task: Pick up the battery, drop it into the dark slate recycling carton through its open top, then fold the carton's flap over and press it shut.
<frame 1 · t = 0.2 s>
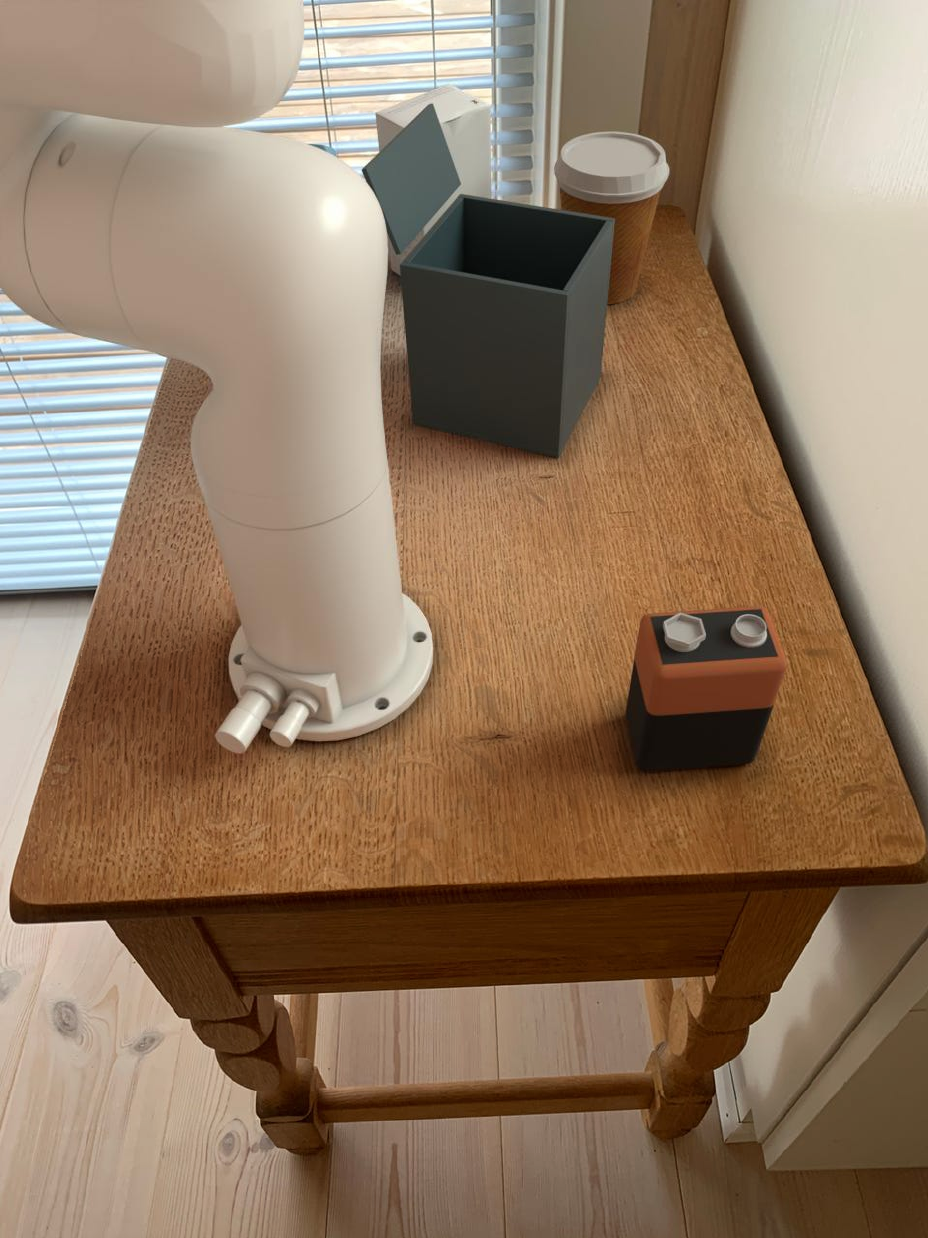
flap: (414, 177, 68), point 17 cm above the table, hinge at 110.0°
cosmetic box: (441, 271, 93), on the table
disposable coffee cup: (601, 288, 90), on the table
battery: (687, 741, 57), on the table
carton: (508, 400, 79), on the table
chair: (318, 285, 92), on the table
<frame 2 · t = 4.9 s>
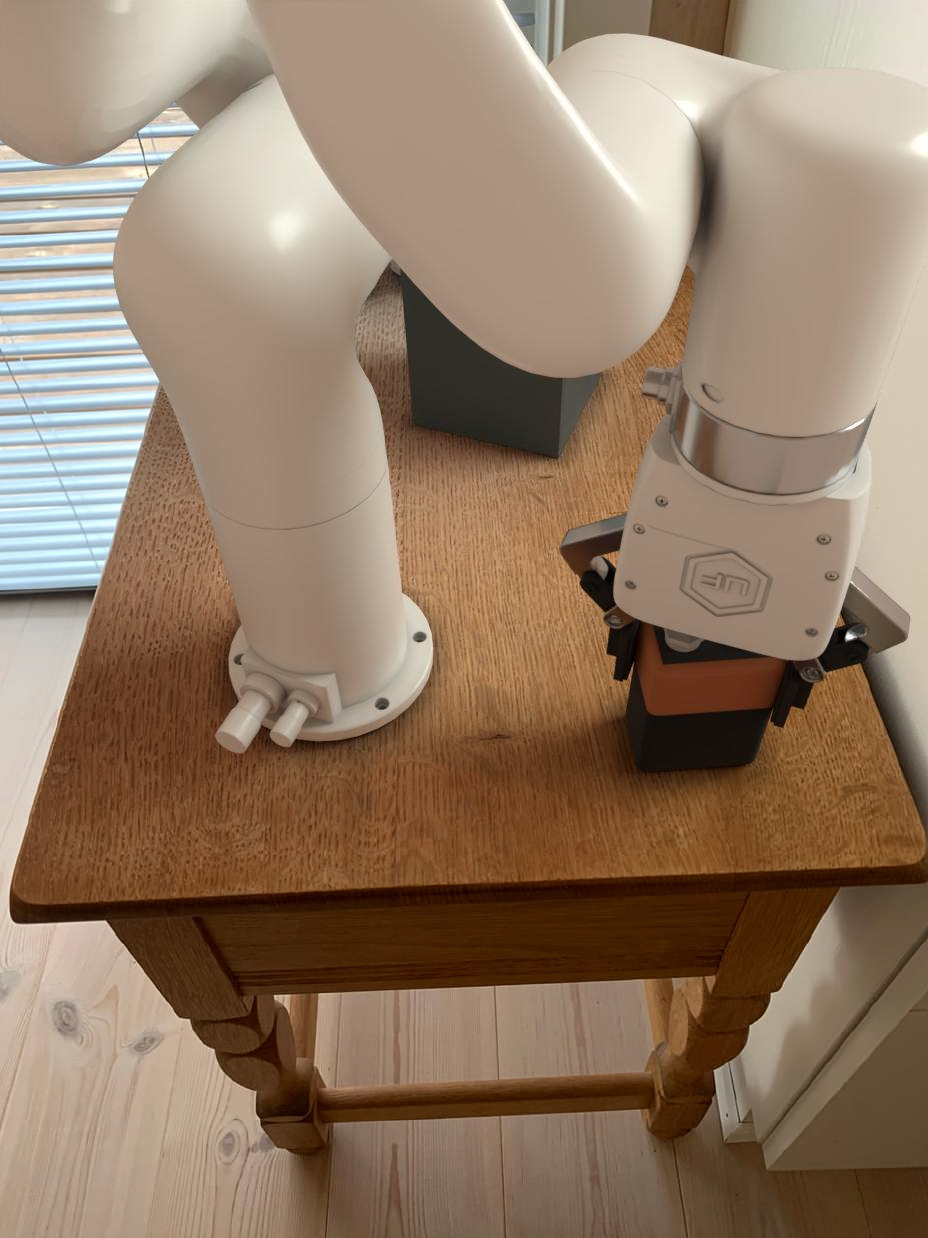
hand: (702, 682, 53), 5 cm above the table, tool pointing down, fingers closed on battery, 7 cm apart
battery: (687, 741, 57), on the table, touching gripper
everything else where it was.
when the fingers open (16 cm above the table, at t = 11.8 s): battery drops 10 cm, resting on carton.
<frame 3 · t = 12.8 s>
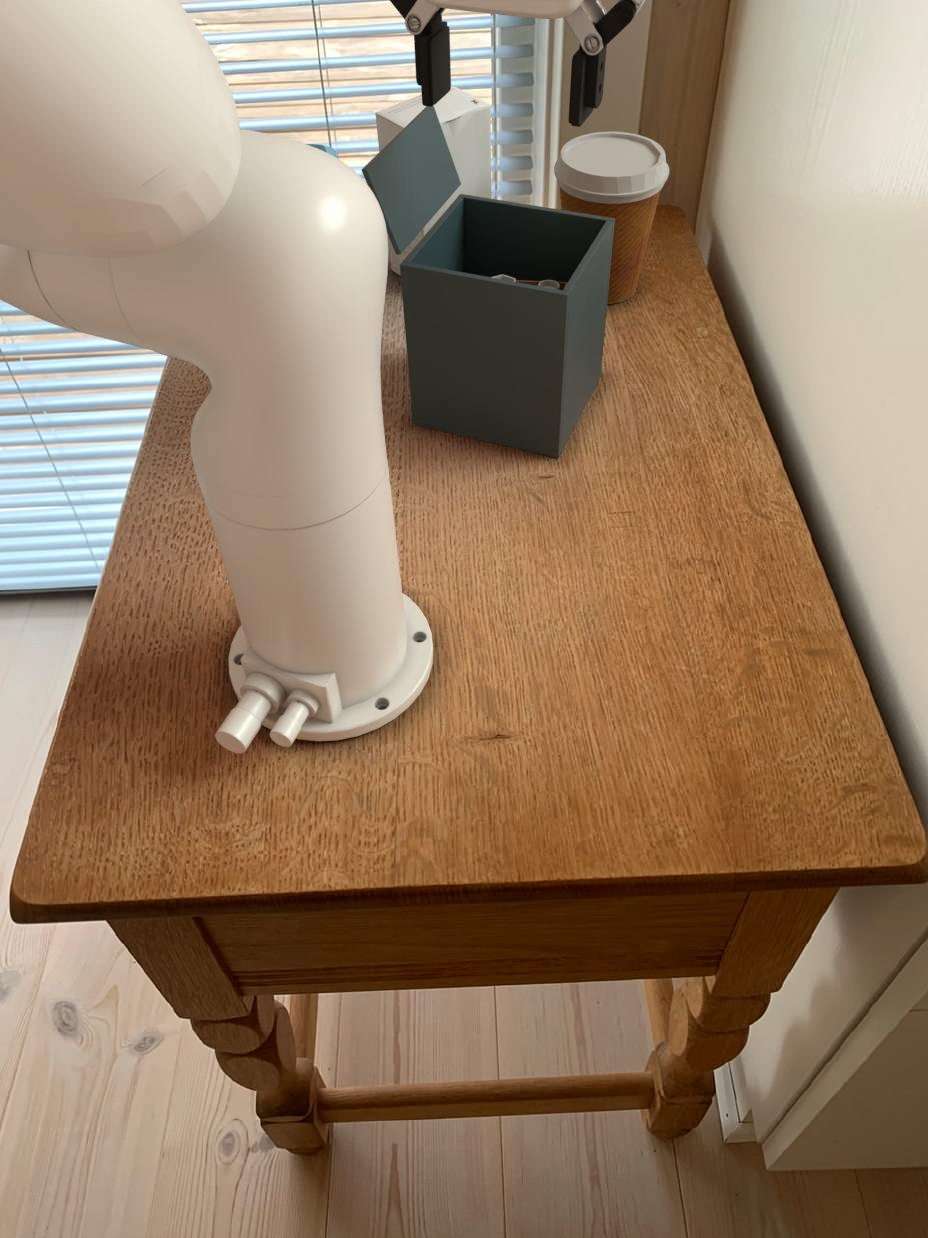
hand: (507, 108, 62), 22 cm above the table, tool pointing down, fingers open, 9 cm apart
battery: (521, 400, 78), resting on carton
everything else where it was.
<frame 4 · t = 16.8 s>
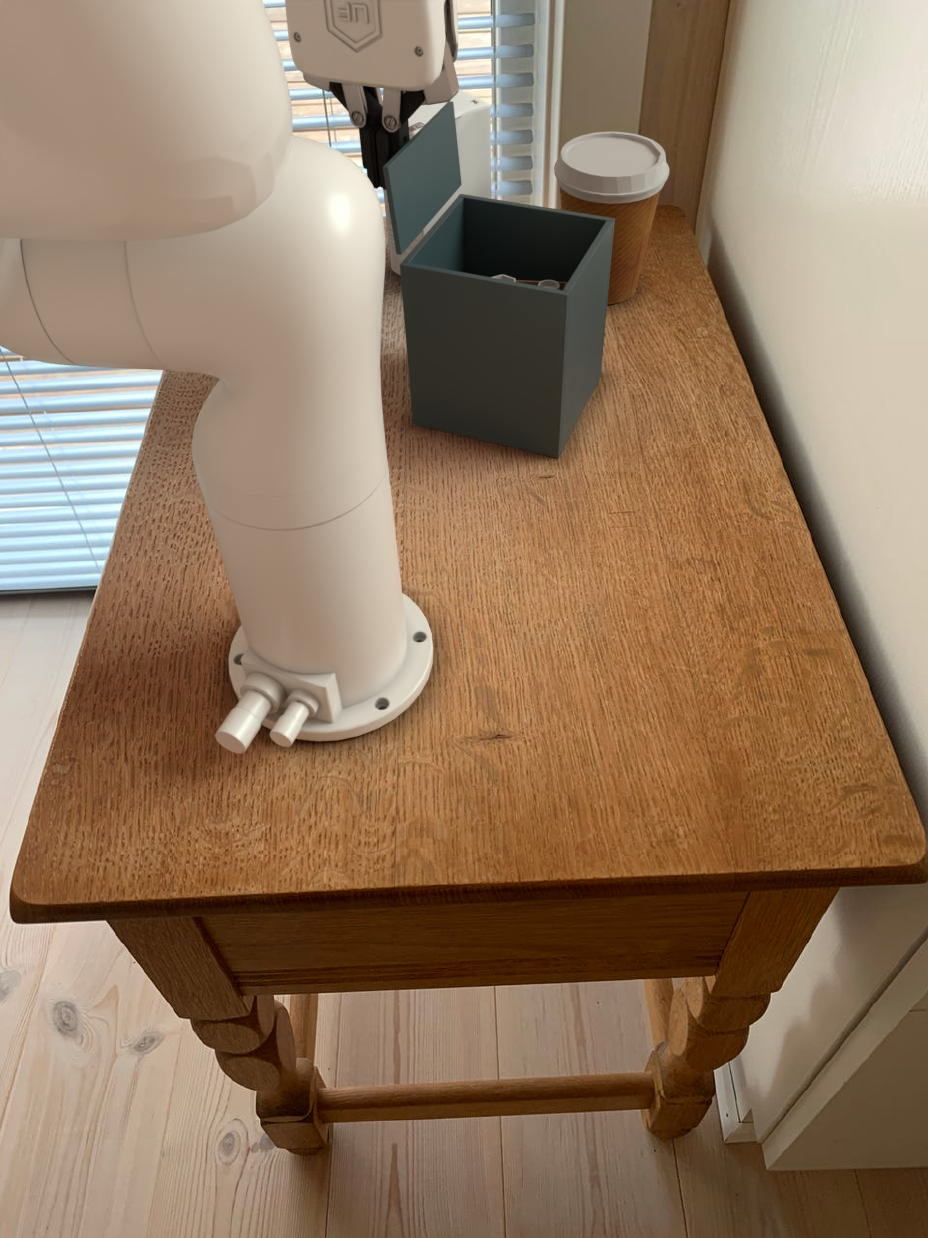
hand: (388, 180, 69), 16 cm above the table, tool pointing down, fingers closed
flap: (425, 176, 68), point 17 cm above the table, hinge at 94.3°, touching gripper
everything else where it was.
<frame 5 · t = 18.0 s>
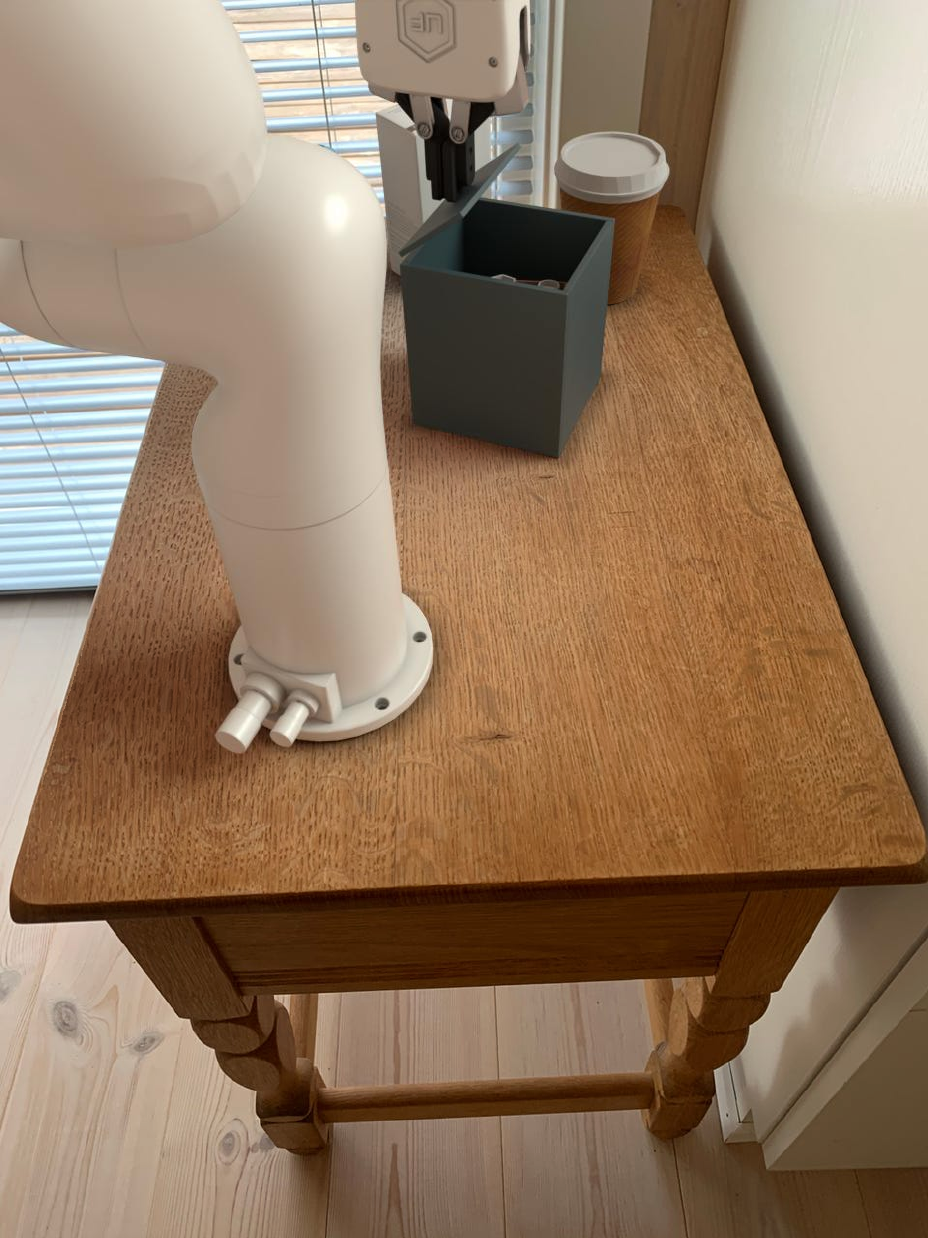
hand: (451, 192, 68), 16 cm above the table, tool pointing down, fingers closed
flap: (461, 198, 68), point 16 cm above the table, hinge at 37.3°
everything else where it was.
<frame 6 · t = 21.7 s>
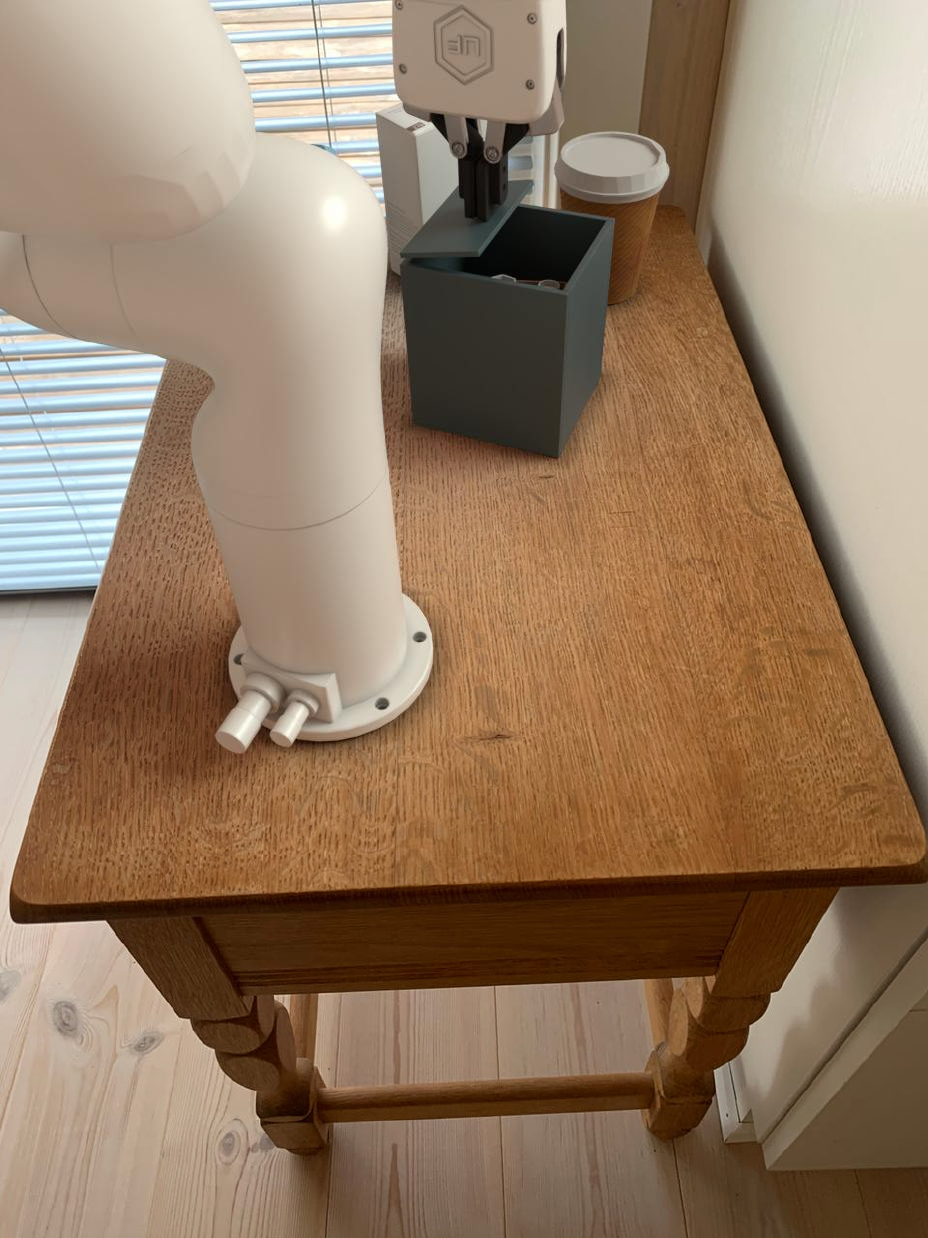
hand: (483, 210, 68), 15 cm above the table, tool pointing down, fingers closed
flap: (468, 217, 69), point 15 cm above the table, hinge at 11.0°, touching gripper
everything else where it was.
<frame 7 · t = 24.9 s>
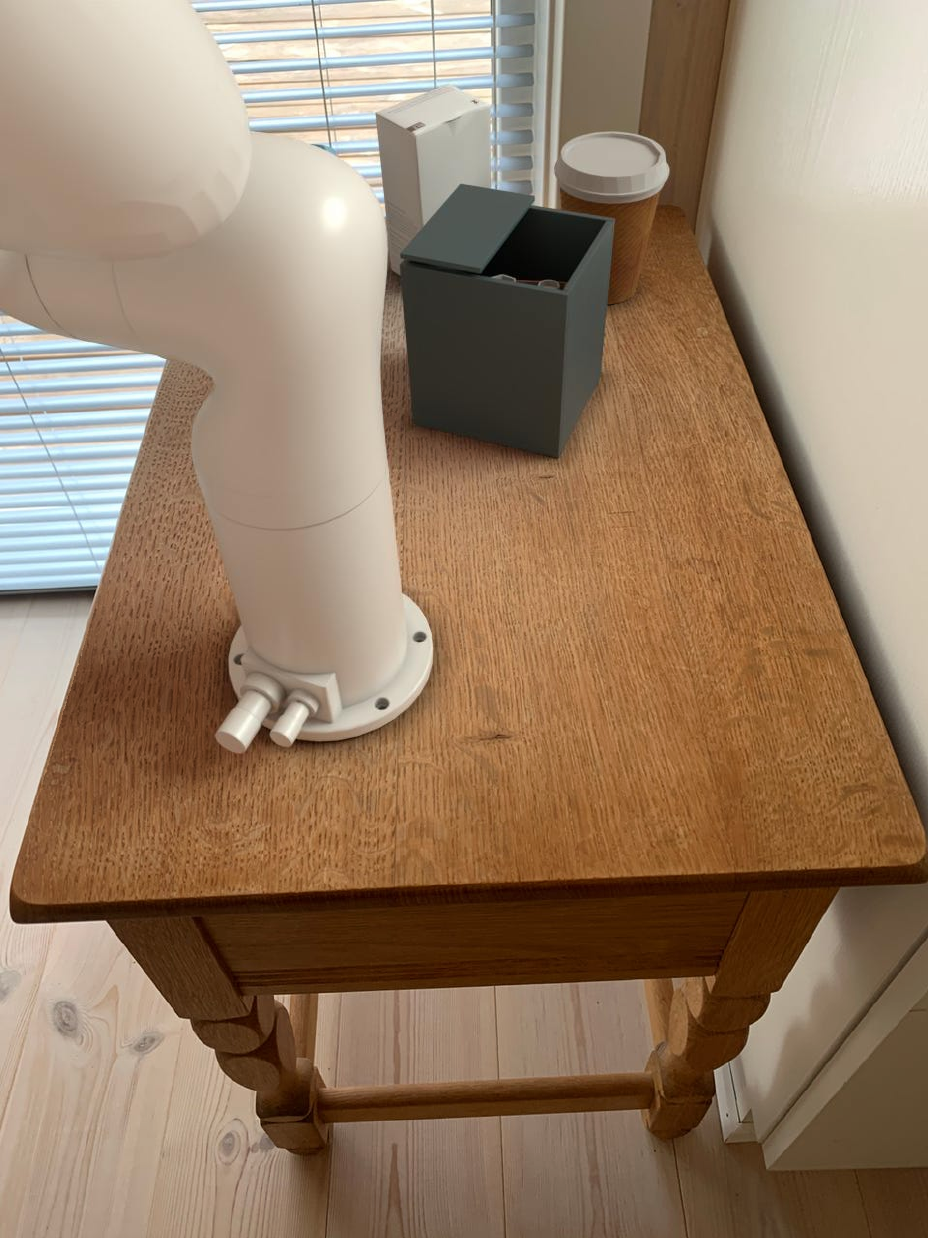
flap: (469, 225, 69), point 14 cm above the table, hinge at -0.4°
everything else where it was.
at the end: battery inside the target area in the carton (1.1 cm from its centre), point 0.3 cm above the carton's base; flap at +0° (first picture: +110°); the gripper is holding nothing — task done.
